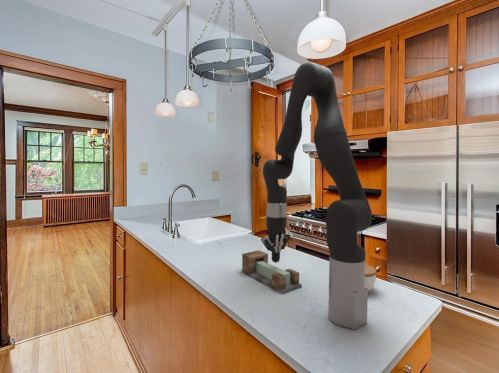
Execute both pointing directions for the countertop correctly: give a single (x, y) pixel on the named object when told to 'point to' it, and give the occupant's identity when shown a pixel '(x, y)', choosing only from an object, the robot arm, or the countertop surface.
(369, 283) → the lidded jar
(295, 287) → the holder
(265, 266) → the slat
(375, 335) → the countertop surface
